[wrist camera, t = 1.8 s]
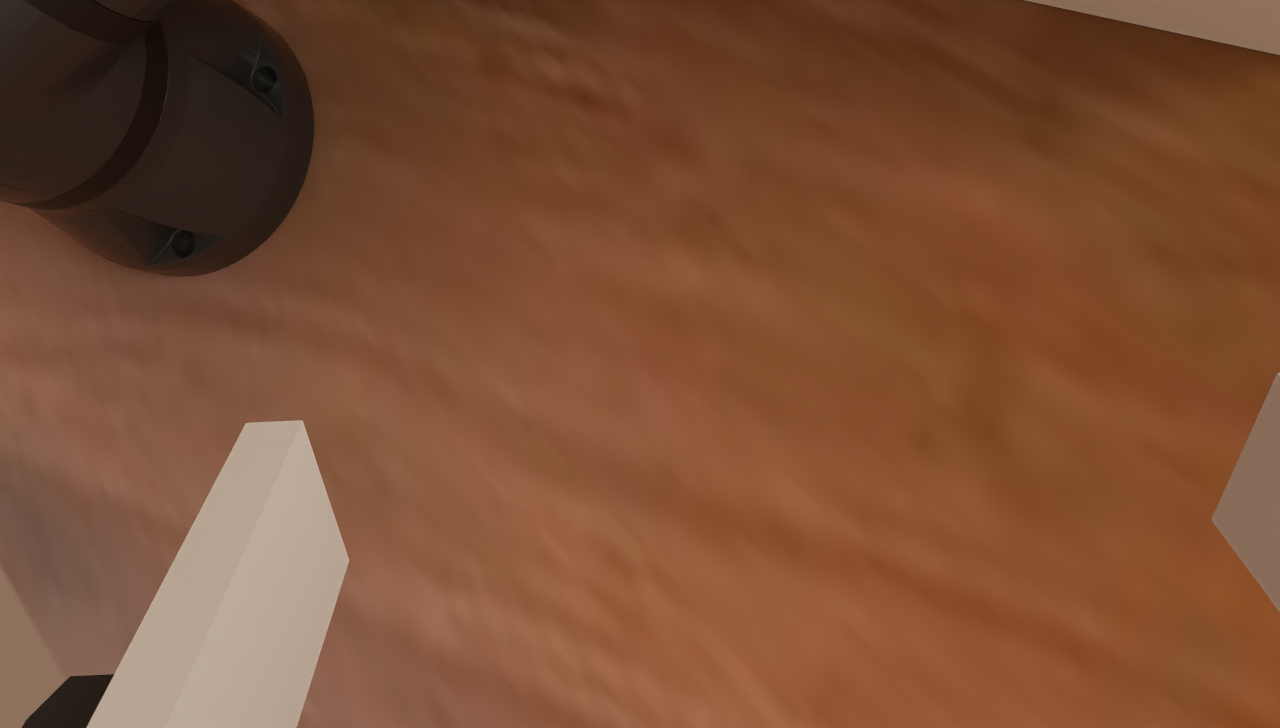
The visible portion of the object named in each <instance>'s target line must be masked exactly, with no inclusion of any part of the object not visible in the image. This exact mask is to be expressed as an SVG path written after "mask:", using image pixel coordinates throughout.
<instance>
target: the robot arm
mask: <svg viewBox="0 0 1280 728" xmlns="http://www.w3.org/2000/svg"><path fill="white" fill-rule="evenodd" d="M313 133H314V120H313V108H312V101H311V96H310V91H309V88H308V84H307V81H306V78H305V75H304V73H303V70H302V68H301V66H300V64H299V62H298V60H297V58H296V56H295V55H294V53H293V52H292V50H291V49H290V47H289V46H288V45H287V43H286V42H285V41H284V40H283V38H282V37H281V36H280V35H279V34H278V33H277V32H276V31H275V30H274V29H273V28H272V27H270V26H269V25H268V24H267V23H265V22H264V21H262V20H261V19H260V18H258V17H257V16H255V15H254V14H252V13H251V12H249V11H248V10H246V9H245V8H243V7H242V6H240V5H239V4H237V3H236V2H234V1H232V0H0V201H5V202H9V203H13V204H17V205H20V206H24V207H28V208H31V209H32V210H34V211H35V212H36V213H38V214H39V215H41V216H42V217H44V218H45V219H47V220H48V221H50V222H51V223H52V224H54V225H55V226H57V227H58V228H60V229H61V230H63V231H64V232H66V233H67V234H68V235H70V236H71V237H73V238H74V239H76V240H77V241H79V242H80V243H82V244H83V245H85V246H86V247H87V248H89V249H90V250H92V251H93V252H95V253H96V254H98V255H100V256H102V257H104V258H106V259H108V260H110V261H113V262H115V263H117V264H120V265H123V266H126V267H129V268H133V269H138V270H142V271H147V272H152V273H157V274H162V275H169V276H193V275H200V274H205V273H209V272H213V271H216V270H219V269H222V268H224V267H227V266H229V265H231V264H233V263H235V262H237V261H238V260H240V259H242V258H244V257H245V256H247V255H248V254H250V253H251V252H252V251H254V250H255V249H256V248H257V247H259V246H260V245H261V244H262V243H263V242H264V241H265V240H266V239H267V238H268V237H269V236H270V235H271V234H272V233H273V232H274V231H275V230H276V229H277V227H278V226H279V225H280V224H281V222H282V221H283V220H284V218H285V217H286V215H287V214H288V212H289V211H290V209H291V207H292V206H293V204H294V202H295V200H296V198H297V196H298V194H299V192H300V190H301V187H302V185H303V182H304V179H305V176H306V173H307V170H308V166H309V162H310V158H311V152H312V145H313ZM1211 520H1212V522H1213V523H1214V524H1215V526H1216V527H1217V528H1218V530H1219V531H1220V532H1221V534H1222V535H1223V536H1224V538H1225V539H1226V540H1227V542H1228V543H1229V544H1230V546H1231V547H1232V548H1233V550H1234V551H1235V553H1236V554H1237V555H1238V557H1239V558H1240V559H1241V561H1242V562H1243V563H1244V565H1245V566H1246V567H1247V569H1248V570H1249V571H1250V573H1251V574H1252V575H1253V577H1254V578H1255V579H1256V581H1257V582H1258V583H1259V585H1260V586H1261V587H1262V589H1263V590H1264V592H1265V593H1266V594H1267V596H1268V597H1269V598H1270V600H1271V601H1272V602H1273V604H1274V605H1275V606H1276V608H1277V609H1278V610H1279V612H1280V373H1277V375H1276V377H1275V379H1274V382H1273V384H1272V386H1271V388H1270V391H1269V393H1268V395H1267V397H1266V399H1265V402H1264V404H1263V406H1262V408H1261V411H1260V413H1259V415H1258V417H1257V419H1256V422H1255V424H1254V426H1253V428H1252V431H1251V433H1250V435H1249V437H1248V439H1247V442H1246V444H1245V446H1244V448H1243V451H1242V453H1241V455H1240V457H1239V459H1238V462H1237V464H1236V466H1235V468H1234V471H1233V473H1232V475H1231V477H1230V479H1229V482H1228V484H1227V486H1226V488H1225V491H1224V493H1223V495H1222V497H1221V499H1220V502H1219V504H1218V506H1217V508H1216V511H1215V513H1214V515H1213V517H1212V519H1211ZM348 563H349V558H348V555H347V552H346V549H345V546H344V543H343V540H342V537H341V534H340V531H339V528H338V525H337V522H336V519H335V516H334V513H333V510H332V507H331V504H330V501H329V498H328V495H327V492H326V489H325V486H324V483H323V480H322V477H321V474H320V471H319V468H318V465H317V462H316V459H315V456H314V453H313V450H312V447H311V444H310V441H309V438H308V435H307V432H306V429H305V426H304V423H303V420H297V421H276V422H255V423H246V424H245V426H244V428H243V430H242V432H241V433H240V435H239V437H238V439H237V441H236V443H235V445H234V447H233V449H232V451H231V453H230V454H229V456H228V458H227V460H226V462H225V464H224V466H223V468H222V470H221V472H220V474H219V475H218V477H217V479H216V481H215V483H214V485H213V487H212V489H211V491H210V493H209V495H208V496H207V498H206V500H205V502H204V504H203V506H202V508H201V510H200V512H199V514H198V516H197V517H196V519H195V521H194V523H193V525H192V527H191V529H190V531H189V533H188V535H187V537H186V539H185V540H184V542H183V544H182V546H181V548H180V550H179V552H178V554H177V556H176V558H175V560H174V561H173V563H172V565H171V567H170V569H169V571H168V573H167V575H166V577H165V579H164V581H163V582H162V584H161V586H160V588H159V590H158V592H157V594H156V596H155V598H154V600H153V602H152V603H151V605H150V607H149V609H148V611H147V613H146V615H145V617H144V619H143V621H142V623H141V624H140V626H139V628H138V630H137V632H136V634H135V636H134V638H133V640H132V642H131V644H130V645H129V647H128V649H127V651H126V653H125V655H124V657H123V659H122V661H121V663H120V665H119V666H118V668H117V670H116V672H115V674H112V675H91V676H70V677H69V678H68V679H67V680H66V681H65V682H64V683H63V684H62V685H61V686H60V687H59V688H58V689H57V690H56V691H55V692H54V693H53V694H52V695H51V696H50V697H49V698H48V699H47V700H46V701H45V702H44V703H43V704H42V705H41V706H40V707H39V708H38V709H37V710H36V711H35V712H34V713H33V714H32V715H31V716H30V717H29V718H28V719H27V720H26V722H25V723H24V725H23V727H22V728H297V724H298V721H299V718H300V715H301V712H302V709H303V705H304V702H305V699H306V696H307V693H308V690H309V686H310V683H311V680H312V677H313V674H314V671H315V667H316V664H317V661H318V658H319V655H320V652H321V648H322V645H323V642H324V639H325V636H326V633H327V629H328V626H329V623H330V620H331V617H332V614H333V610H334V607H335V604H336V601H337V598H338V595H339V591H340V588H341V585H342V582H343V579H344V576H345V572H346V569H347V566H348Z"/></svg>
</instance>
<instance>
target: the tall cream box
mask: <svg viewBox="0 0 1280 728" xmlns="http://www.w3.org/2000/svg"><path fill="white" fill-rule="evenodd" d="M1025 1H1030V2H1035V3H1039V4H1044V5H1049V6H1053V7H1058V8H1062V9H1067V10H1072V11H1076V12H1081V13H1086V14H1090V15H1095V16H1100V17H1104V18H1109V19H1114V20H1118V21H1123V22H1128V23H1132V24H1137V25H1141V26H1146V27H1151V28H1155V29H1160V30H1165V31H1169V32H1174V33H1179V34H1183V35H1188V36H1193V37H1197V38H1202V39H1207V40H1211V41H1216V42H1220V43H1225V44H1230V45H1234V46H1239V47H1244V48H1248V49H1253V50H1258V51H1262V52H1267V53H1272V54H1276V55H1280V0H1025Z"/></svg>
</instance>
